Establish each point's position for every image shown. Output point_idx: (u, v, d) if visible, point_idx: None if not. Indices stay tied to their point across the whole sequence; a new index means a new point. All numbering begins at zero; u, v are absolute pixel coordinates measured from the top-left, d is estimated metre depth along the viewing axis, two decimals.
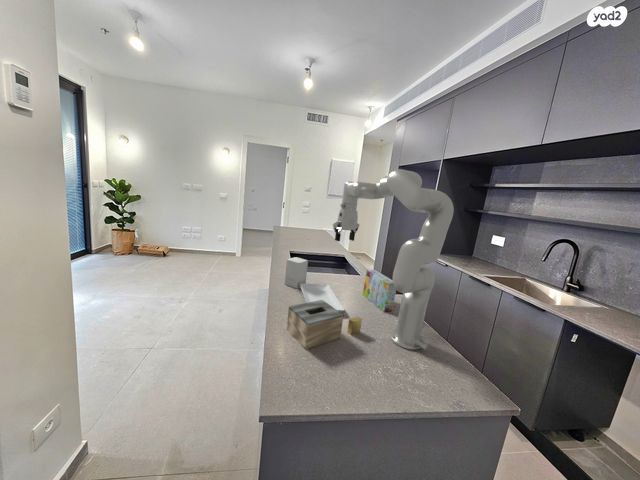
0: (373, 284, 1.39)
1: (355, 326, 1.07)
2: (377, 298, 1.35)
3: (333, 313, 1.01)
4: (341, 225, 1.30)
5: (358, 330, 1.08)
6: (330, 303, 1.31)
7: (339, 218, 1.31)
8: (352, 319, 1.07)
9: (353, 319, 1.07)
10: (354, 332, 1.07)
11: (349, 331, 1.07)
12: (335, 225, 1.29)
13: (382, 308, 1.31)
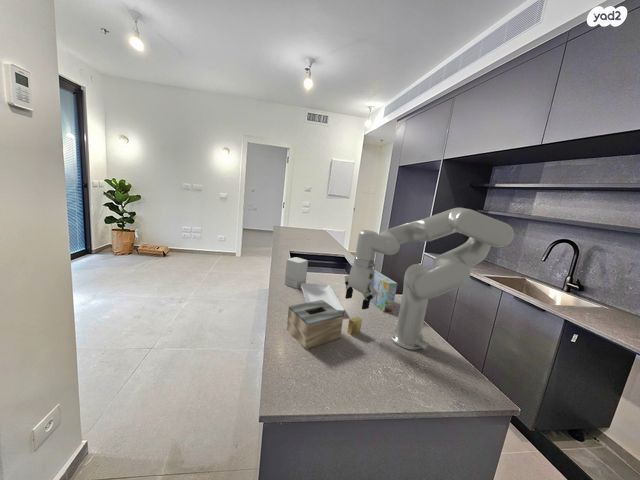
0: None
1: (355, 326, 1.07)
2: (377, 298, 1.35)
3: (333, 313, 1.01)
4: None
5: (358, 330, 1.08)
6: (330, 303, 1.31)
7: (369, 282, 1.00)
8: (352, 319, 1.07)
9: (353, 319, 1.07)
10: (354, 332, 1.07)
11: (349, 331, 1.07)
12: None
13: (382, 308, 1.31)
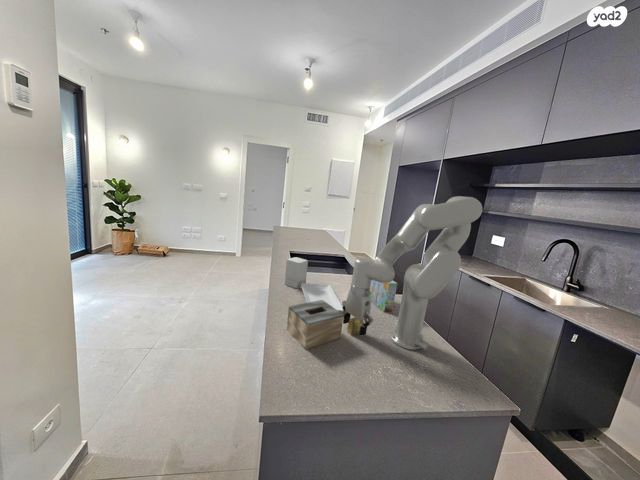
0: (373, 284, 1.39)
1: (355, 326, 1.07)
2: (377, 298, 1.35)
3: (333, 313, 1.01)
4: None
5: (358, 330, 1.08)
6: (330, 303, 1.31)
7: (366, 309, 1.02)
8: (352, 319, 1.07)
9: (353, 319, 1.07)
10: (354, 332, 1.07)
11: (349, 331, 1.07)
12: None
13: (382, 308, 1.31)
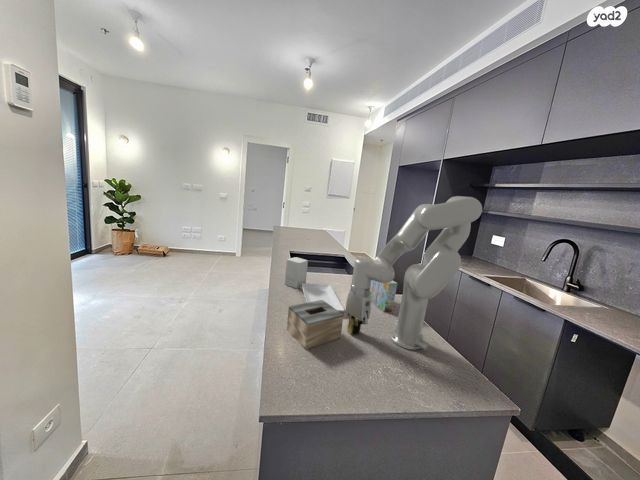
0: (373, 284, 1.39)
1: None
2: (377, 298, 1.35)
3: (333, 313, 1.01)
4: (369, 315, 1.04)
5: None
6: (330, 303, 1.31)
7: (366, 309, 1.02)
8: (352, 319, 1.07)
9: (353, 319, 1.07)
10: None
11: (349, 331, 1.07)
12: None
13: (382, 308, 1.31)
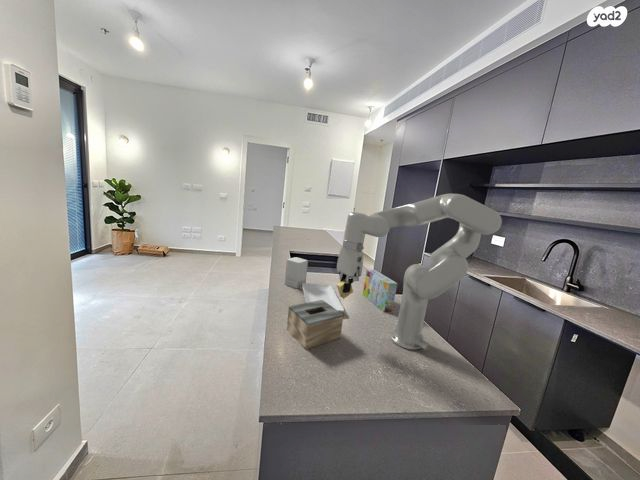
0: (373, 284, 1.39)
1: None
2: (377, 298, 1.35)
3: (333, 313, 1.01)
4: (360, 272, 0.99)
5: (350, 291, 1.04)
6: (330, 303, 1.31)
7: (357, 265, 0.97)
8: (339, 284, 1.02)
9: (340, 283, 1.02)
10: (346, 294, 1.03)
11: (341, 295, 1.03)
12: None
13: (382, 308, 1.31)
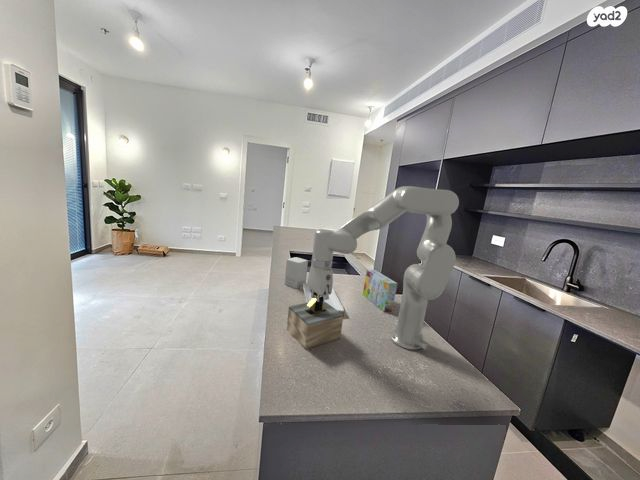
0: (373, 284, 1.39)
1: None
2: (377, 298, 1.35)
3: (333, 313, 1.01)
4: (330, 290, 0.97)
5: (322, 307, 1.02)
6: (331, 303, 1.31)
7: (326, 283, 0.95)
8: (309, 304, 1.00)
9: (310, 303, 1.00)
10: (319, 311, 1.02)
11: (314, 313, 1.02)
12: None
13: (382, 308, 1.31)
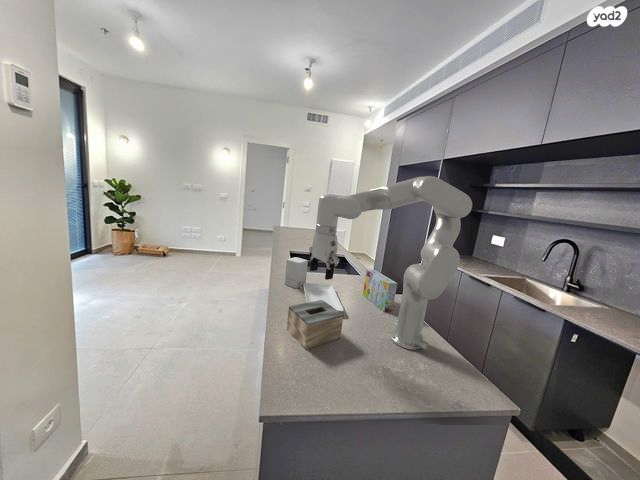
0: (373, 284, 1.39)
1: None
2: (377, 298, 1.35)
3: (333, 313, 1.01)
4: None
5: None
6: (331, 303, 1.31)
7: (331, 249, 0.93)
8: None
9: None
10: None
11: None
12: None
13: (382, 308, 1.31)
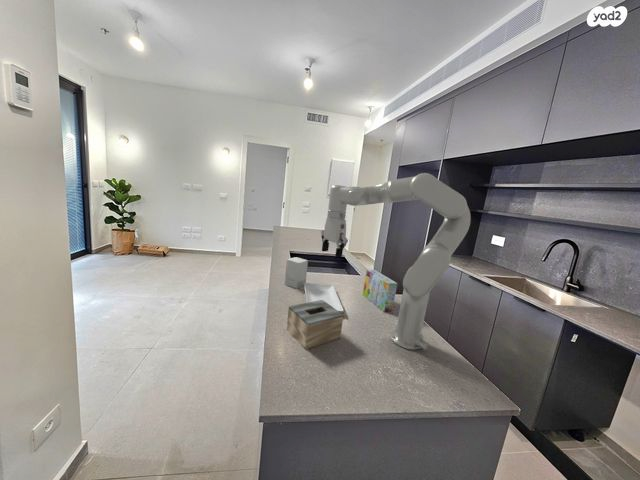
0: (373, 284, 1.39)
1: None
2: (377, 298, 1.35)
3: (333, 313, 1.01)
4: None
5: None
6: (331, 303, 1.31)
7: (341, 231, 1.09)
8: None
9: None
10: None
11: None
12: None
13: (382, 308, 1.31)
